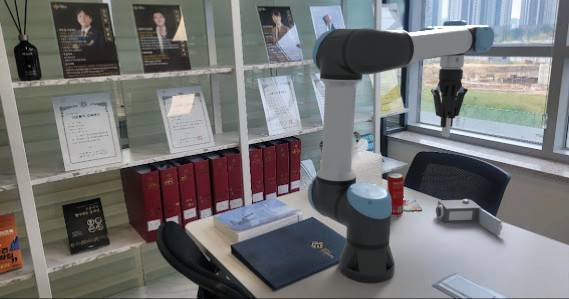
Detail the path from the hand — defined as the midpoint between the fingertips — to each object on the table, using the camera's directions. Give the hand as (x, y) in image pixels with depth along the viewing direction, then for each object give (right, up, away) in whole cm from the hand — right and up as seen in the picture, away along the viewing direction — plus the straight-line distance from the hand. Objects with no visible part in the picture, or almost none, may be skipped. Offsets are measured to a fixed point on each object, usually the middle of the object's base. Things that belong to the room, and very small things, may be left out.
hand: (445, 136), depth 151 cm
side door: (+11, -31, -8) cm, 34 cm away
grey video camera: (+5, -29, +1) cm, 30 cm away
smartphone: (-9, -26, +15) cm, 31 cm away
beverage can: (-17, -28, +6) cm, 33 cm away
